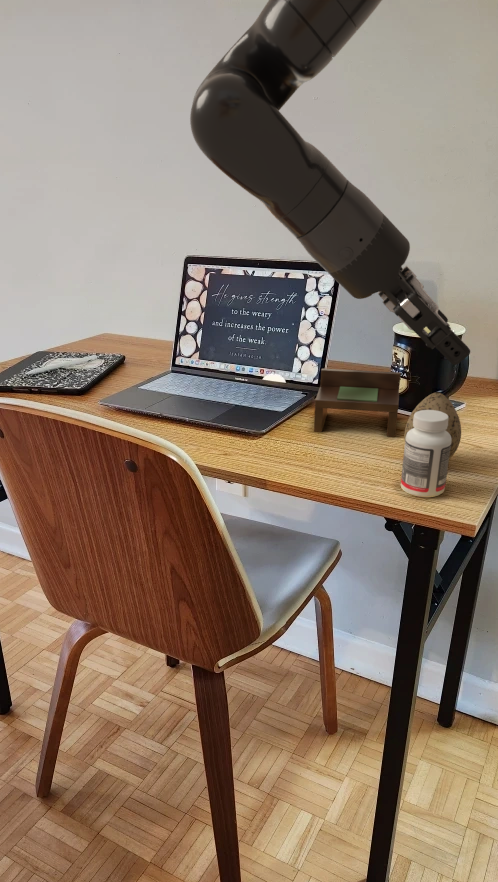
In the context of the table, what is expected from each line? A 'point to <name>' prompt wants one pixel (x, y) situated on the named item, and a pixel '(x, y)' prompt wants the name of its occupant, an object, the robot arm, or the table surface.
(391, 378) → the bench
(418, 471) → the pill bottle
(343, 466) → the table surface
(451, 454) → the decorative egg
